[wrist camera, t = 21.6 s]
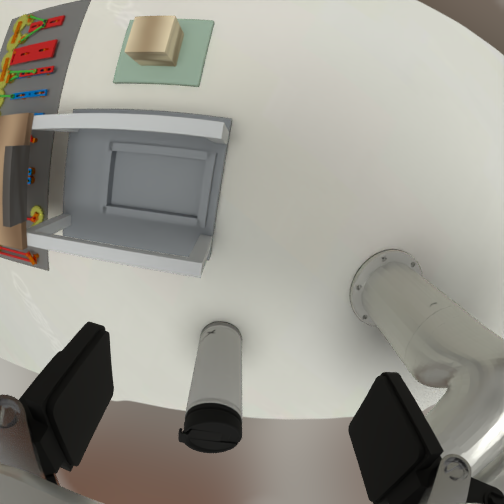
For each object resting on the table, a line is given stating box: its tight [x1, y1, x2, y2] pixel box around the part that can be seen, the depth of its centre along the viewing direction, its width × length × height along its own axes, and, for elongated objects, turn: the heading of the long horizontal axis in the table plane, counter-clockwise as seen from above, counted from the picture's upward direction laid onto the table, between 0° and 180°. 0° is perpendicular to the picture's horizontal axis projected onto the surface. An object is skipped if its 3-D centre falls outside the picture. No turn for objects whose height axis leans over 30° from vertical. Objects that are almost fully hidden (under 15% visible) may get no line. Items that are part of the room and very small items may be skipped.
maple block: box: [125, 16, 184, 67], centre depth 28 cm, size 5×5×6 cm
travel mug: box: [179, 322, 242, 453], centre depth 35 cm, size 6×7×20 cm
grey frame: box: [27, 109, 232, 278], centre depth 31 cm, size 22×18×12 cm
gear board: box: [0, 0, 91, 271], centre depth 32 cm, size 45×2×19 cm
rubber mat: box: [113, 19, 214, 87], centre depth 31 cm, size 12×10×1 cm
